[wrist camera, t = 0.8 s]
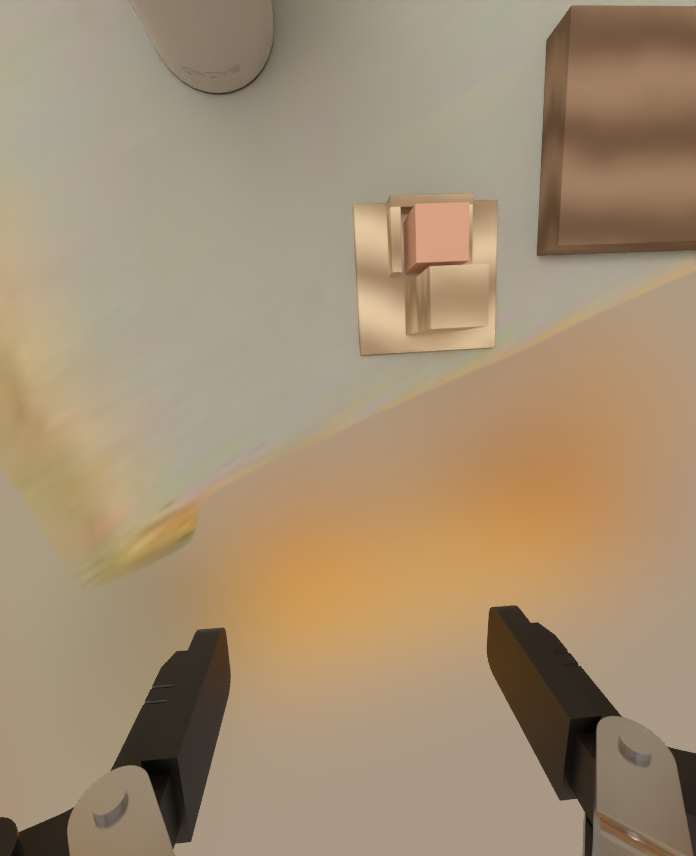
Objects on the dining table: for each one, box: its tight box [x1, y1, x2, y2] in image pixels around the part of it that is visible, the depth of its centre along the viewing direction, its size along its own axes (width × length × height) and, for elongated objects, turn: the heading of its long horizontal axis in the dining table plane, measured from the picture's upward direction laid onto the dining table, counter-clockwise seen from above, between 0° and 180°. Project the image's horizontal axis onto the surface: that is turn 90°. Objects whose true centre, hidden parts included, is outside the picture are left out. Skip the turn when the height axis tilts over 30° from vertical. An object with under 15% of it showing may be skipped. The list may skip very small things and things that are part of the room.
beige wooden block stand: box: [353, 193, 497, 355], centre depth 29 cm, size 12×12×9 cm
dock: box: [537, 6, 696, 255], centre depth 30 cm, size 16×16×3 cm
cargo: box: [403, 202, 469, 274], centre depth 29 cm, size 4×4×4 cm
